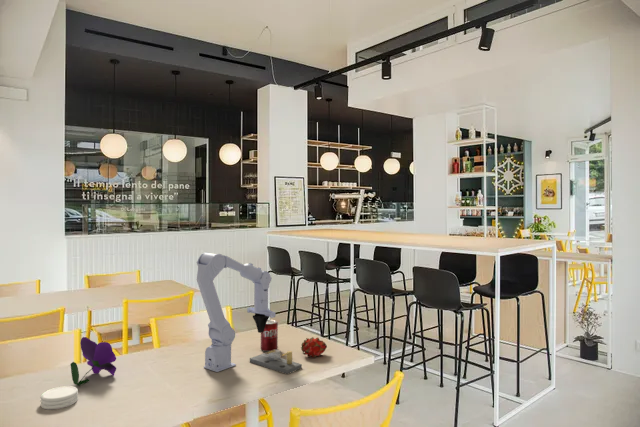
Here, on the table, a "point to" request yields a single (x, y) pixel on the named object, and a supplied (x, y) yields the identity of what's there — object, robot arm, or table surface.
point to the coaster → (59, 397)
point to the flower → (94, 359)
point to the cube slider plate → (277, 362)
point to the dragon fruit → (313, 347)
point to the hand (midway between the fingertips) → (260, 332)
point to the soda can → (270, 336)
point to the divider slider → (274, 354)
